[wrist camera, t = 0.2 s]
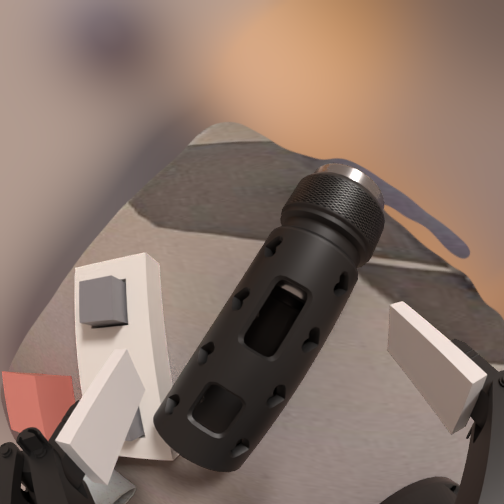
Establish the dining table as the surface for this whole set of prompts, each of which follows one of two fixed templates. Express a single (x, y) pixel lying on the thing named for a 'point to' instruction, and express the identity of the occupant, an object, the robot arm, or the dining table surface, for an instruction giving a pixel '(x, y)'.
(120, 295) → the button tagged
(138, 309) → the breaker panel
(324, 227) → the muzzle brake
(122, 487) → the ceramic mug
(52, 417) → the salmon red cube
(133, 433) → the button plain
